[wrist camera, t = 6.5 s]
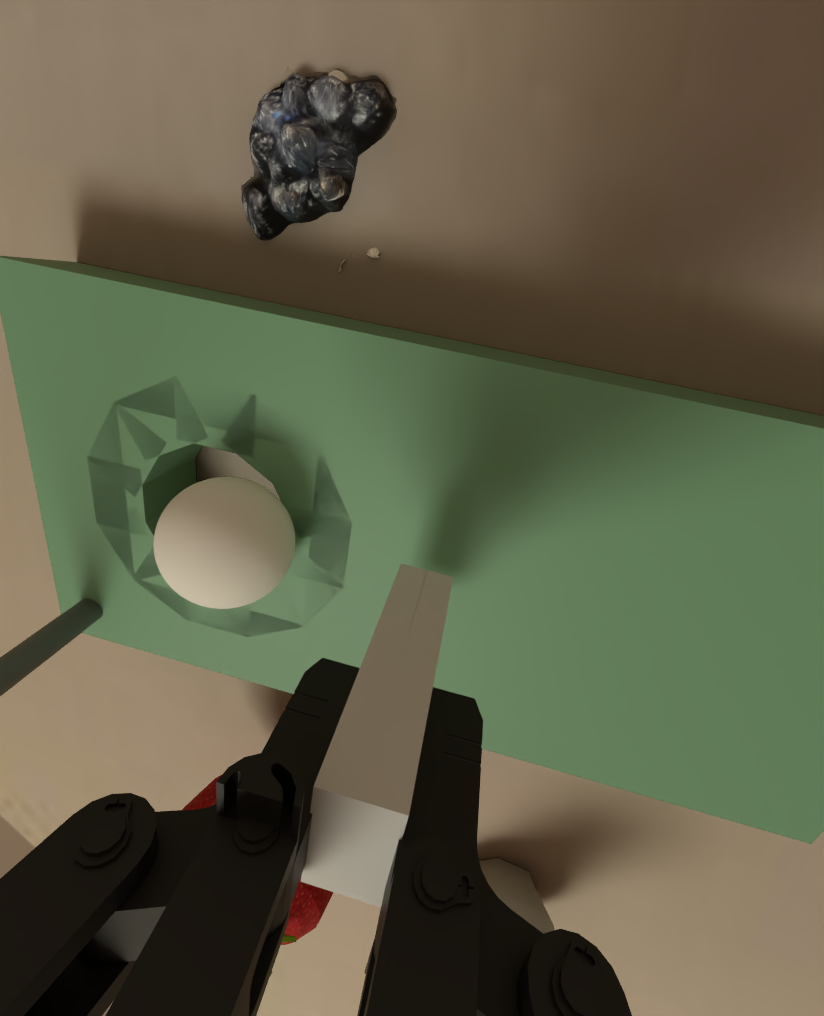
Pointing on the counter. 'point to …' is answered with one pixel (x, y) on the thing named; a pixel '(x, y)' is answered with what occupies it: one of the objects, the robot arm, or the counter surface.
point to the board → (446, 527)
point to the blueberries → (311, 147)
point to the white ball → (224, 542)
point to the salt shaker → (517, 892)
